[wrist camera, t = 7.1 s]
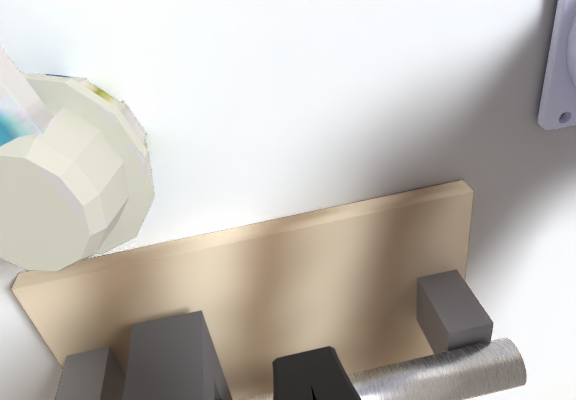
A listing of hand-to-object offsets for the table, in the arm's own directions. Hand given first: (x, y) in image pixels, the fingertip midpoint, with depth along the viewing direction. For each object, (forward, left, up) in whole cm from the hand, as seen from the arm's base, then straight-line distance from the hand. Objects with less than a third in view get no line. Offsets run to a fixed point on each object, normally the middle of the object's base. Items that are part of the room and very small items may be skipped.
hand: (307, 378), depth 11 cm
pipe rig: (+1, +9, -10) cm, 14 cm away
